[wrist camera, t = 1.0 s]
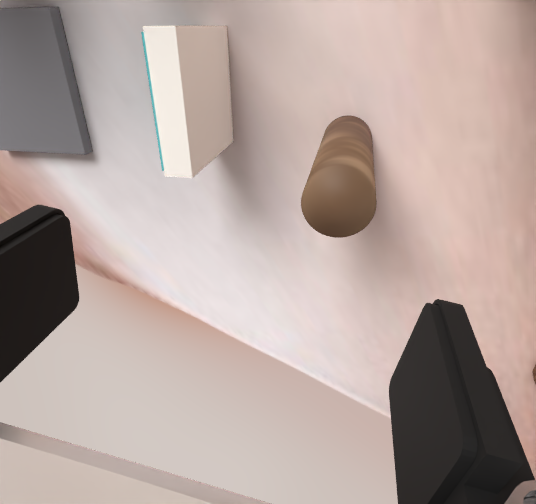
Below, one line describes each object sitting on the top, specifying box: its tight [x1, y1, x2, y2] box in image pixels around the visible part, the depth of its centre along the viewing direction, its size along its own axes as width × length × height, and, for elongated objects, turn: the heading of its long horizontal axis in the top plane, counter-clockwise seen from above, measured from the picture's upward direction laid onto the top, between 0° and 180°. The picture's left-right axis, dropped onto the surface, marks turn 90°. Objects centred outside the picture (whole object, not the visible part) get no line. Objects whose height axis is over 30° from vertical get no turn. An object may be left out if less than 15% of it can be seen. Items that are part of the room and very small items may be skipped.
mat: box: [0, 7, 92, 155], centre depth 36 cm, size 10×12×1 cm
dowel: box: [301, 116, 376, 237], centre depth 27 cm, size 4×4×14 cm
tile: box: [141, 26, 233, 178], centre depth 29 cm, size 2×9×10 cm, turn 1°
